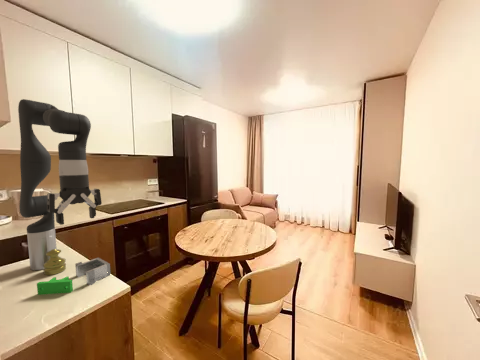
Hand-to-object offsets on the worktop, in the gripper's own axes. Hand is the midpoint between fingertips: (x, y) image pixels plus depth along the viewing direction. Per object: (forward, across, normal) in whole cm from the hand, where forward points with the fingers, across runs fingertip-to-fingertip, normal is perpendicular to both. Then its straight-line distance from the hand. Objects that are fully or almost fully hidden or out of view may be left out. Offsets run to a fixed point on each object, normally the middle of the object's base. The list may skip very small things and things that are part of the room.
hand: (77, 220), depth 68 cm
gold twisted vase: (+29, -1, -33) cm, 44 cm away
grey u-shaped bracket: (+29, -9, -14) cm, 33 cm away
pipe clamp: (+29, +3, -14) cm, 32 cm away
